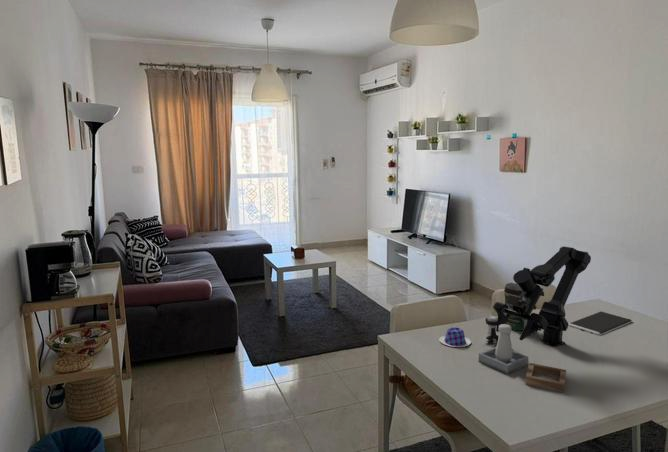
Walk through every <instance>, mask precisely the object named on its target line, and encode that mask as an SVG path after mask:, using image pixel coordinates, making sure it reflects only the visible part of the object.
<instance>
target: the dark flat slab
mask: <svg viewBox="0 0 668 452" xmlns="http://www.w3.org/2000/svg"><path fill="white" fill-rule="evenodd" d="M632 321H633V320H632V319H631V318H627V317H624V316H621V315H616V314H612V313H609V312H606V311H597V312H596V313H593V314H591V315H588V316H586V317H585V316H584V317H582V318H580V319H576V320H574V321H572V322H568V327H570V328H573V329H576V330H580V331H584V332H586V333H589V334H593V335H595V336H602V335H604V334H607V333H609V332H612V331H614V330H616V329H617V330H618V329H620V328H621V327H624V326H625V325H628V324H630V323H632Z"/></svg>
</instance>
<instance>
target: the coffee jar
mask: <svg viewBox="0 0 668 452" xmlns="http://www.w3.org/2000/svg"><path fill="white" fill-rule="evenodd" d="M522 292H523V291H521V290H520V288H519V287H518V285H517V284H516V283H515V282H509V283H506V284H505V286H504V290H503V294H504V304H506V305H507V307H508V308H509V309H511V310H513V308H511V304H507V303H506V301H507V298H508V295H512V296H515V297H517V296H518V295H519V296H521V294H522ZM507 318H508V320H507V322H506V323H505V324H507V325H510V326H511V327H512V330H515V331H523V330H524V329H525V327H526V325H527V320H525V319H522V318H519V317H516V316H512V315H510V316H509V317H507Z"/></svg>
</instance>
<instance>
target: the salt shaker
mask: <svg viewBox="0 0 668 452" xmlns="http://www.w3.org/2000/svg"><path fill="white" fill-rule="evenodd" d="M512 330H513V329H512V327H511V326H510V325H507V324H501V325H499V332H498V333H499V334H498V336H499V337H498V342H496V346H495V347H496V351H495V356H496V358H497V360H498V361H501V362H503V363H509V362H510V360H511V359H512V356H513V354H512V351H513V348H512V347H513V346H512V341H511V333H512V332H513V331H512Z"/></svg>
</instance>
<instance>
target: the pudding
mask: <svg viewBox="0 0 668 452" xmlns="http://www.w3.org/2000/svg"><path fill="white" fill-rule="evenodd" d="M444 339H445V340H444ZM438 340H439V342H440V343H441V344H442V345H445V346H448V347H453V348H463V347H468V346H470V345H471V344H472V341H471V339H469V337H466V336H465V332H464V330H463V329H462V328H461V327H457V326H456V327H453V326H451V327H450V328H448V329H447V330H446V334H445V335H442V336H441V337H439V339H438Z"/></svg>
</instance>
